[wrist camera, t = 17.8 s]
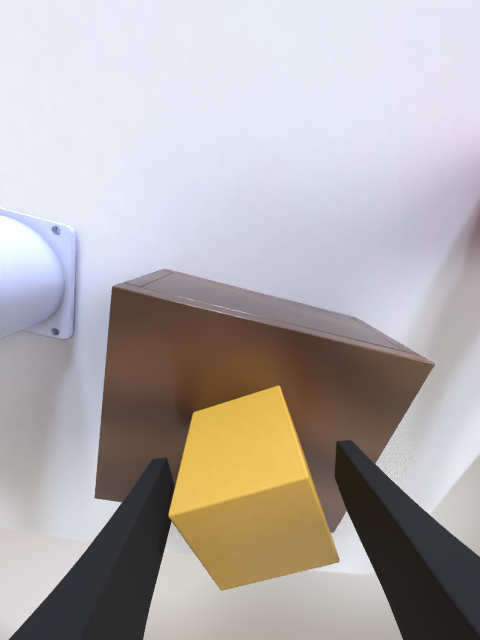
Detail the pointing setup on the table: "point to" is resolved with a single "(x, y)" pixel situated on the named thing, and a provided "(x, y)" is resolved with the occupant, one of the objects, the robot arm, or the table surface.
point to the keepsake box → (264, 306)
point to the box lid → (240, 386)
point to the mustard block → (249, 494)
